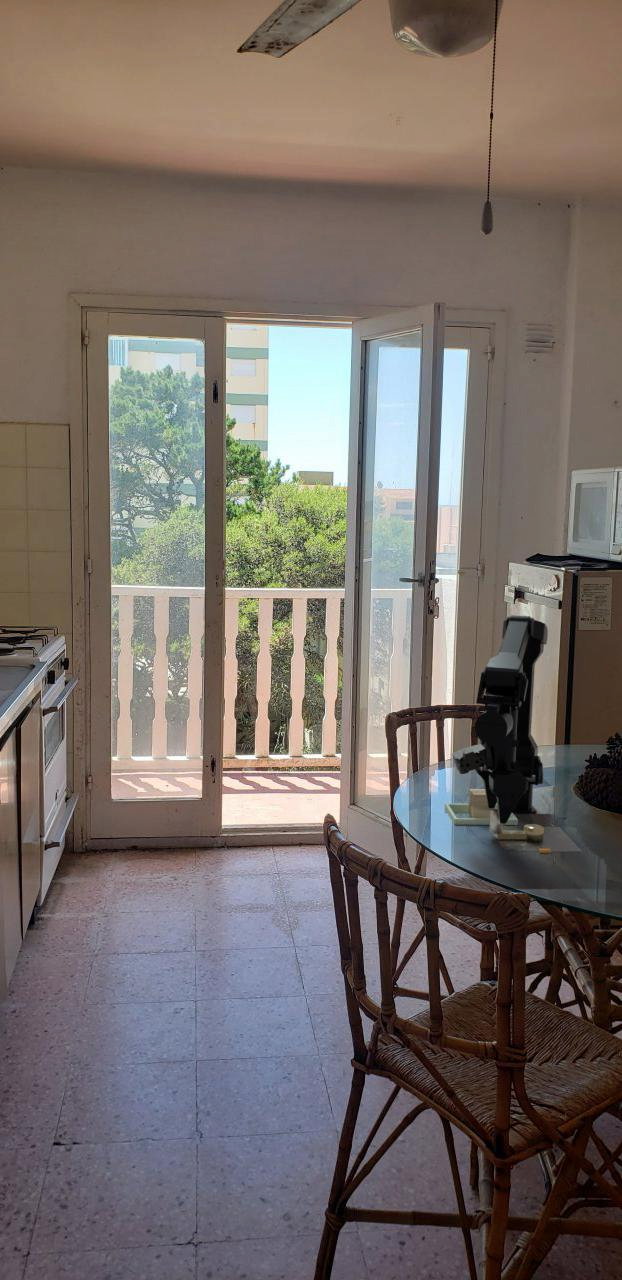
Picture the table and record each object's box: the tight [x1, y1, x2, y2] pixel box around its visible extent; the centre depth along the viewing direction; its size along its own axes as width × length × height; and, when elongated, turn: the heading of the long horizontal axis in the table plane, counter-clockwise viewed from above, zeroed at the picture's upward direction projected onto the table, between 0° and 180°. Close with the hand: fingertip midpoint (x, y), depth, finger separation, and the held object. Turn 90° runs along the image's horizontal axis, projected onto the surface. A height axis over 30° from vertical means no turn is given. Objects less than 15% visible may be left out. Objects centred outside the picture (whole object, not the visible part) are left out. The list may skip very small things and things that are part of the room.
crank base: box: [487, 826, 583, 854], centre depth 183 cm, size 15×14×2 cm
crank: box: [489, 809, 545, 841], centre depth 183 cm, size 10×4×5 cm, turn 92°
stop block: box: [468, 788, 493, 818], centre depth 196 cm, size 4×4×6 cm
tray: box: [444, 803, 519, 826], centre depth 196 cm, size 10×12×2 cm
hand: (497, 815), depth 182 cm, fingers open, 9 cm apart
